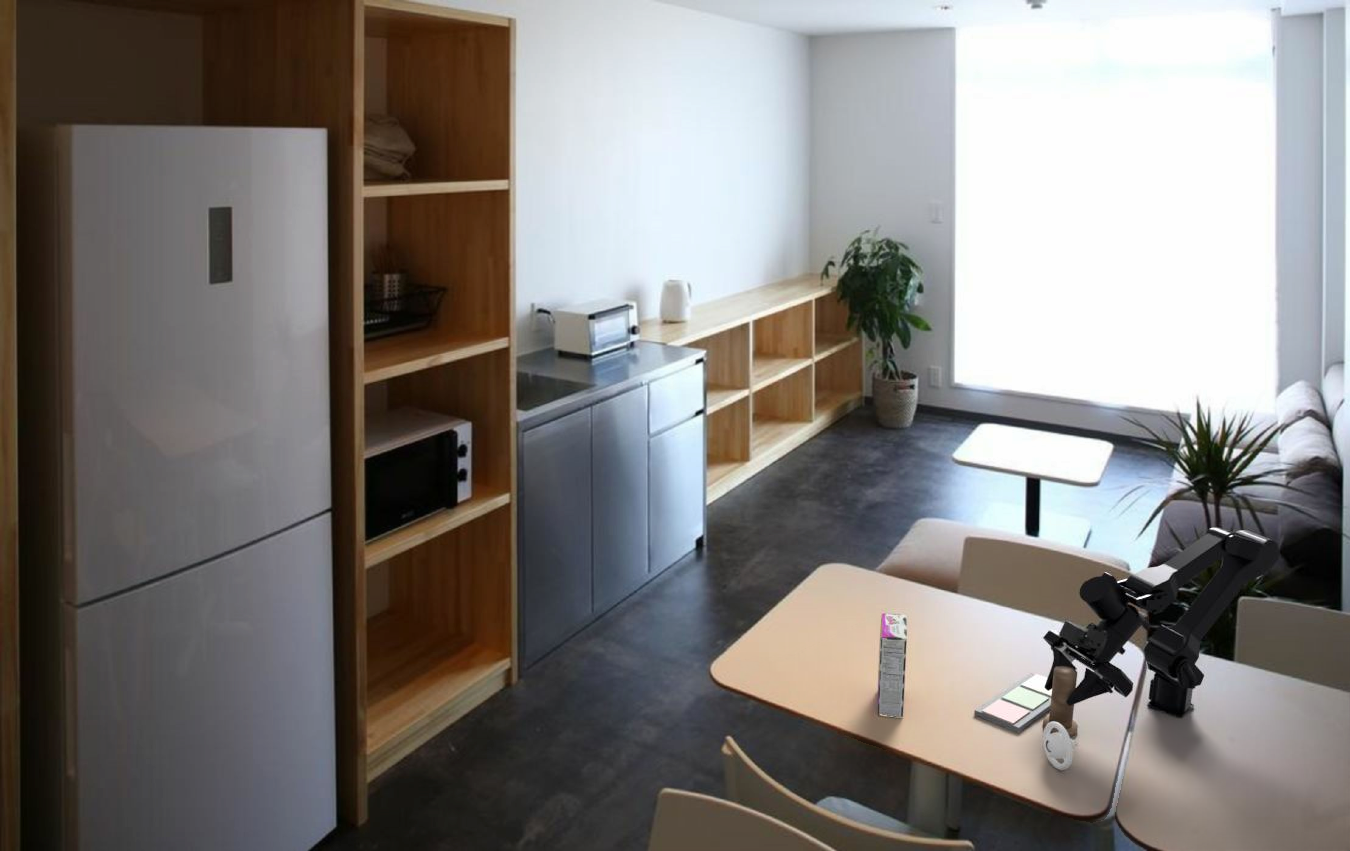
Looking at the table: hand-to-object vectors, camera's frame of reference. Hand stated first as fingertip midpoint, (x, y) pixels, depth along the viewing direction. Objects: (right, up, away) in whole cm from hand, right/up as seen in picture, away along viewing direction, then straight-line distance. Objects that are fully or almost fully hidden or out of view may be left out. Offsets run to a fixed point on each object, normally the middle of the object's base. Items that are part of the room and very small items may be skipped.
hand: (1056, 696), depth 191 cm
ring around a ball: (-3, -9, -10) cm, 14 cm away
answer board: (-2, -4, +11) cm, 12 cm away
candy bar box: (-28, -4, +11) cm, 31 cm away
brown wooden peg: (+1, -6, +2) cm, 7 cm away
